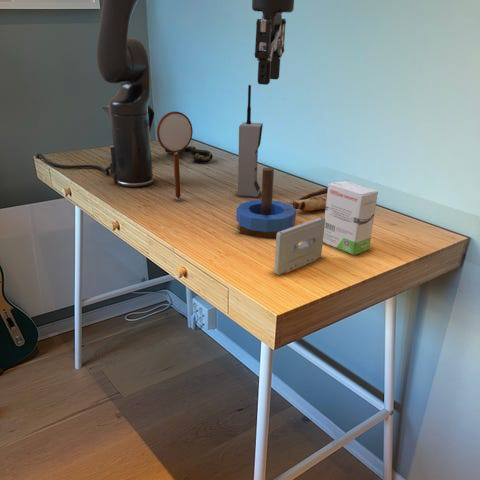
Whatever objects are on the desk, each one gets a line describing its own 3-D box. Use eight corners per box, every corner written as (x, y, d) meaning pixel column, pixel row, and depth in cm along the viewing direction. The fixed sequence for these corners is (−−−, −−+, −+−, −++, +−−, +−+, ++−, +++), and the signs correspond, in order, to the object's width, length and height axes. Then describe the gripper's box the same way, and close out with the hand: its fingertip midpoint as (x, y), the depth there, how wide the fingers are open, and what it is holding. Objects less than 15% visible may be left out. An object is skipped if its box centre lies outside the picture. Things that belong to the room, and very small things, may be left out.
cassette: (279, 276, 85) (282, 235, 81) (271, 272, 86) (274, 231, 82) (323, 257, 92) (328, 218, 88) (315, 254, 93) (320, 215, 89)
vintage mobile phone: (257, 197, 121) (261, 86, 108) (237, 196, 122) (239, 85, 109) (260, 193, 125) (264, 84, 111) (240, 191, 125) (242, 83, 112)
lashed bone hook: (334, 196, 125) (276, 206, 116) (336, 178, 122) (278, 186, 114) (360, 206, 118) (301, 217, 109) (363, 186, 116) (303, 196, 107)
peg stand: (239, 233, 102) (240, 172, 95) (250, 218, 109) (251, 161, 102) (282, 238, 100) (286, 177, 93) (290, 223, 107) (294, 165, 100)
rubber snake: (215, 145, 146) (184, 151, 142) (216, 161, 148) (186, 167, 144) (189, 135, 159) (160, 141, 155) (191, 150, 162) (163, 156, 158)
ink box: (369, 249, 96) (380, 190, 90) (353, 256, 93) (362, 195, 87) (336, 236, 101) (344, 179, 95) (320, 241, 99) (326, 183, 93)
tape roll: (229, 227, 100) (230, 215, 99) (246, 208, 110) (246, 197, 109) (287, 234, 98) (288, 222, 96) (298, 214, 107) (299, 203, 106)
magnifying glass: (163, 204, 116) (157, 113, 105) (160, 202, 117) (154, 112, 106) (195, 198, 120) (193, 110, 109) (192, 196, 121) (189, 109, 110)
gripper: (262, -19, 93) (258, 76, 102) (243, -23, 82) (240, 84, 90) (302, -18, 92) (294, 79, 101) (287, -22, 80) (280, 87, 89)
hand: (268, 81), depth 95 cm, fingers open, 8 cm apart
